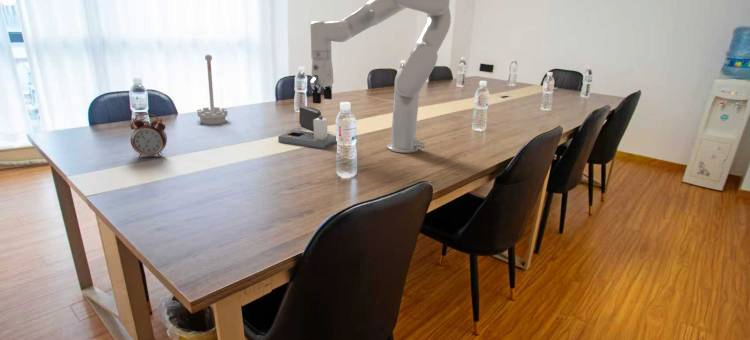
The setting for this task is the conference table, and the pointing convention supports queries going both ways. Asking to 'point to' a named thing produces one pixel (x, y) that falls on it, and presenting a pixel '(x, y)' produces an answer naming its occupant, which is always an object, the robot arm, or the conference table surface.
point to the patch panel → (306, 139)
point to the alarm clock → (148, 136)
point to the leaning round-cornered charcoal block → (308, 116)
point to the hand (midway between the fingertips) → (322, 101)
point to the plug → (320, 128)
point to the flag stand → (211, 103)
